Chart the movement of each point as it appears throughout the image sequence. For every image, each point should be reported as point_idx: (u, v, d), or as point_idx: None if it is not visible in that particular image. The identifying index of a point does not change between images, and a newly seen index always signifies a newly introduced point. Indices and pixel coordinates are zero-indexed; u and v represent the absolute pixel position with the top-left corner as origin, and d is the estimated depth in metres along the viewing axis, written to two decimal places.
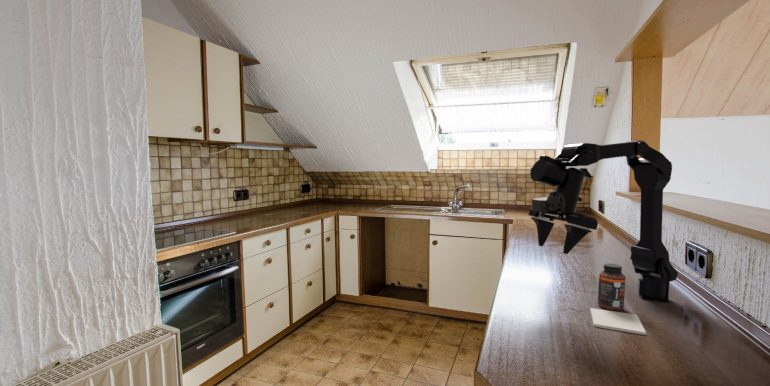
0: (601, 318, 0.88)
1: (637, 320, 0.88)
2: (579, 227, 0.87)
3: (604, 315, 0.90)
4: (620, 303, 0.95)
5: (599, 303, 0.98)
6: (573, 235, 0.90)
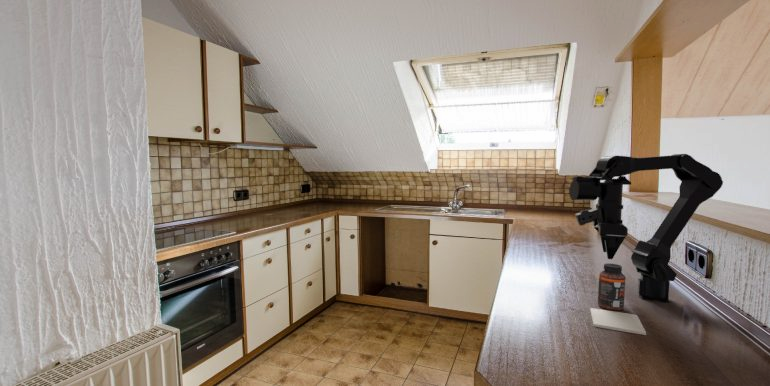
0: (601, 318, 0.88)
1: (637, 320, 0.88)
2: (608, 235, 0.98)
3: (604, 315, 0.90)
4: (620, 303, 0.95)
5: (599, 303, 0.98)
6: (611, 242, 0.99)
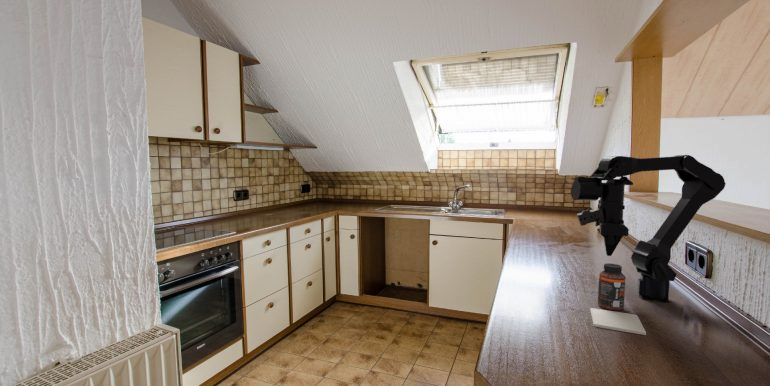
0: (601, 318, 0.88)
1: (637, 320, 0.88)
2: None
3: (604, 315, 0.90)
4: (620, 303, 0.95)
5: (599, 303, 0.98)
6: (610, 239, 1.04)
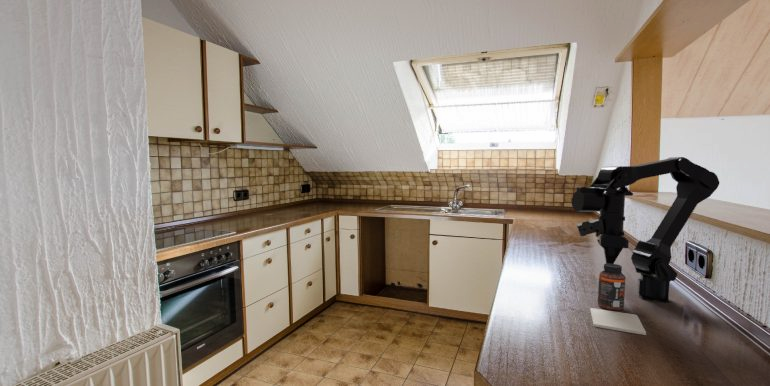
0: (601, 318, 0.88)
1: (637, 320, 0.88)
2: None
3: (604, 315, 0.90)
4: (620, 303, 0.95)
5: (599, 303, 0.98)
6: (610, 251, 1.02)
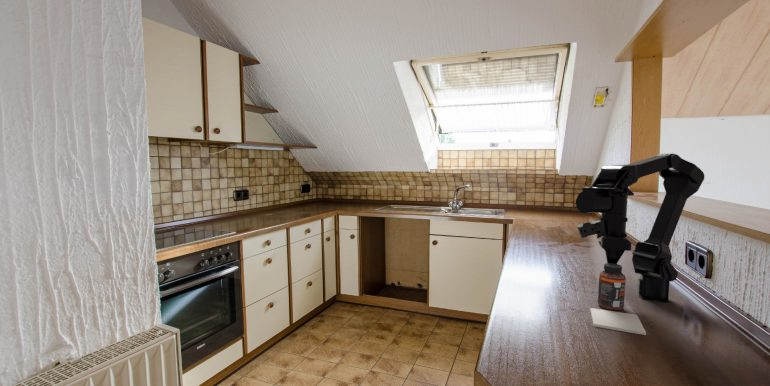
0: (601, 318, 0.88)
1: (637, 320, 0.88)
2: None
3: (604, 315, 0.90)
4: (620, 303, 0.95)
5: (599, 303, 0.98)
6: (611, 253, 0.98)
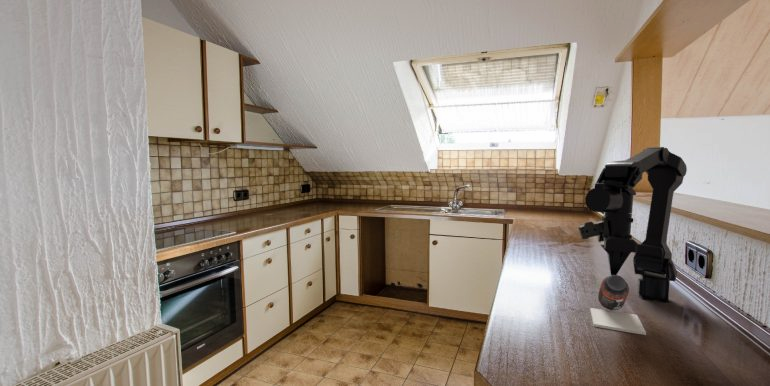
0: (601, 318, 0.88)
1: (637, 320, 0.88)
2: None
3: (604, 315, 0.90)
4: (621, 306, 0.93)
5: None
6: (615, 256, 0.91)
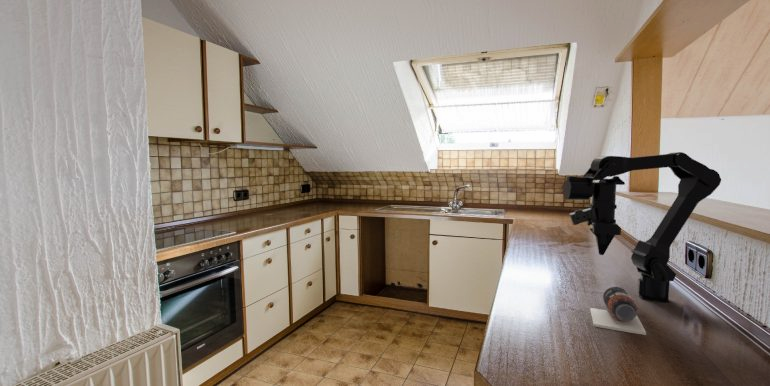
0: (601, 318, 0.88)
1: (637, 320, 0.88)
2: None
3: (604, 315, 0.90)
4: None
5: None
6: (602, 238, 1.05)
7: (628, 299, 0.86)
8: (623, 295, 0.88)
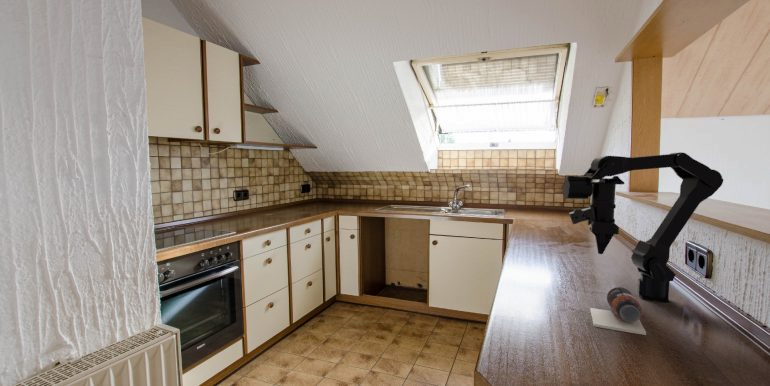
0: (601, 318, 0.88)
1: (637, 320, 0.88)
2: None
3: (604, 315, 0.90)
4: None
5: (607, 297, 0.95)
6: (601, 238, 1.05)
7: (635, 301, 0.85)
8: (631, 297, 0.87)
